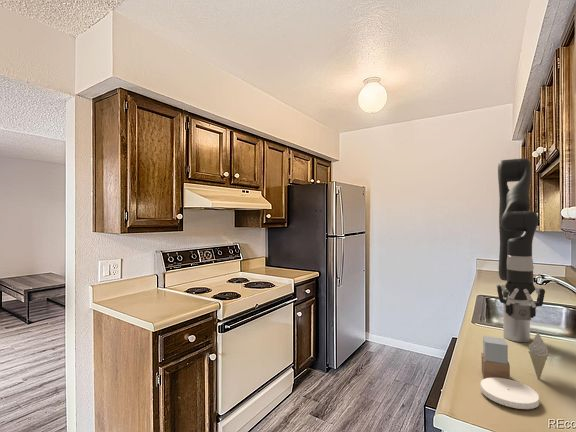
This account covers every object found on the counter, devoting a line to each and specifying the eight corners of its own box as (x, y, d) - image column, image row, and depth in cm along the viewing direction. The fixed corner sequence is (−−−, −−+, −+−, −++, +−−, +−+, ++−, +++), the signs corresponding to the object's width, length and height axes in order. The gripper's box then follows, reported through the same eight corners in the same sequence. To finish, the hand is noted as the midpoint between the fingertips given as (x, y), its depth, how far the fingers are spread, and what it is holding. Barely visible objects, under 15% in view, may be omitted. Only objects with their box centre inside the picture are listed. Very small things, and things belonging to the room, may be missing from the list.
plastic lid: (482, 381, 103) (482, 373, 103) (537, 394, 95) (537, 386, 95) (478, 401, 92) (478, 393, 92) (540, 419, 84) (540, 409, 84)
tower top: (483, 353, 109) (483, 335, 109) (504, 356, 106) (504, 338, 106) (485, 361, 103) (485, 342, 103) (507, 364, 101) (507, 345, 101)
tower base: (481, 370, 110) (481, 352, 110) (506, 374, 107) (506, 356, 107) (483, 380, 103) (483, 361, 103) (510, 384, 100) (509, 365, 100)
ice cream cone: (547, 377, 104) (546, 330, 104) (550, 384, 100) (549, 335, 100) (527, 373, 107) (527, 327, 107) (529, 380, 103) (529, 332, 103)
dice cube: (507, 315, 117) (507, 301, 117) (522, 315, 117) (522, 301, 117) (514, 319, 113) (514, 305, 112) (530, 320, 112) (530, 305, 112)
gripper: (542, 267, 114) (543, 315, 114) (494, 265, 120) (494, 310, 120) (548, 271, 107) (548, 322, 107) (496, 268, 113) (497, 316, 113)
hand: (520, 316), depth 114 cm, fingers closed on dice cube, 5 cm apart
